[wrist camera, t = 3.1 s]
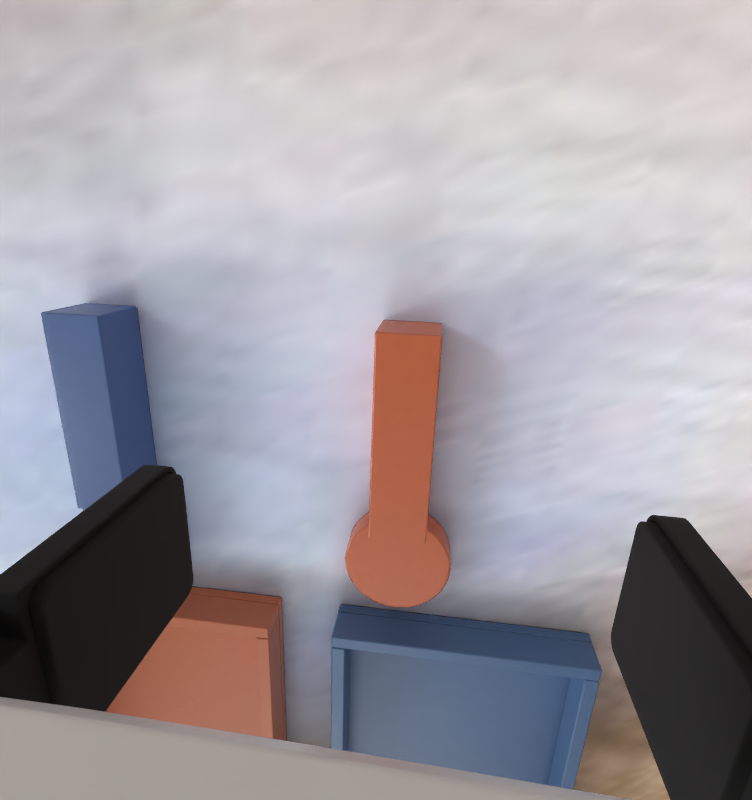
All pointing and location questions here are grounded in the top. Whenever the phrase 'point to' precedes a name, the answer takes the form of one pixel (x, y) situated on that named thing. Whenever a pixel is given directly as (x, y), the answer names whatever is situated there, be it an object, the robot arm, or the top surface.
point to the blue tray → (462, 693)
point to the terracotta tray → (214, 667)
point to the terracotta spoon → (402, 473)
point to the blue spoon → (100, 394)
